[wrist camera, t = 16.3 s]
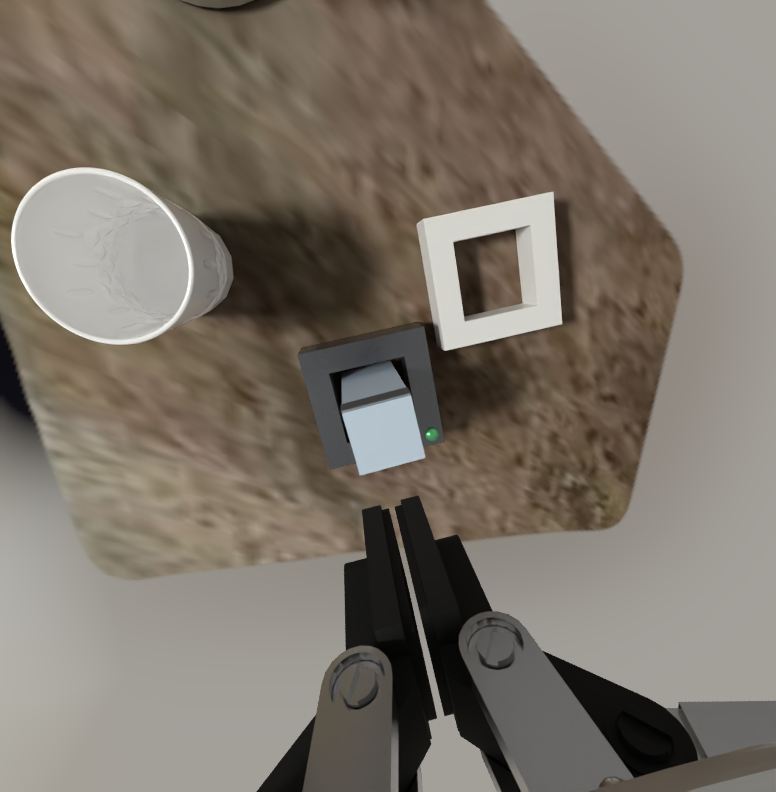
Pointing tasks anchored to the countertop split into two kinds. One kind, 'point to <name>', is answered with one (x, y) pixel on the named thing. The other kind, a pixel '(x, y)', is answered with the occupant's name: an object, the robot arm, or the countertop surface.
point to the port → (360, 352)
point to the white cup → (116, 257)
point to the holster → (535, 268)
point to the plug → (379, 418)
